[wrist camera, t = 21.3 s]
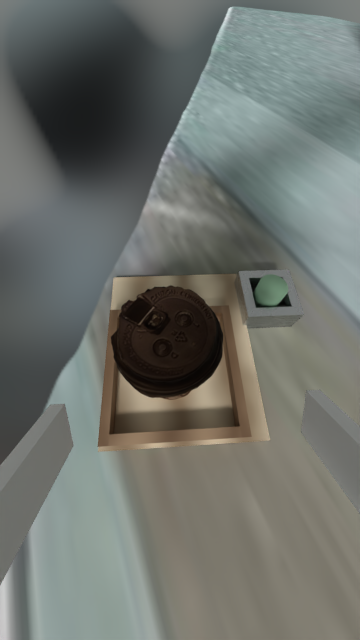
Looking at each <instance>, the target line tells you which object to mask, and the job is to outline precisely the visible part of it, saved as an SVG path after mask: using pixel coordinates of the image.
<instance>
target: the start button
mask: <svg viewBox="0 0 360 640" xmlns="http://www.w3.org/2000/svg"><path fill="white" fill-rule="evenodd" d="M287 292H288V285H287V283H286V281H285V280H284V279H283V278H281V277H279V276H277V275H272V274H270V275H265V276H263V277H262V278H261V279H260V281H259V283H258V285H257V287H256V288H255V290H254V292H253V297H254V301H255V306H256V308H267V307H277V305H278V304H279V303H280V302H281V300H282V299H283V298H284V297H285V295H286V294H287Z"/></svg>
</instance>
